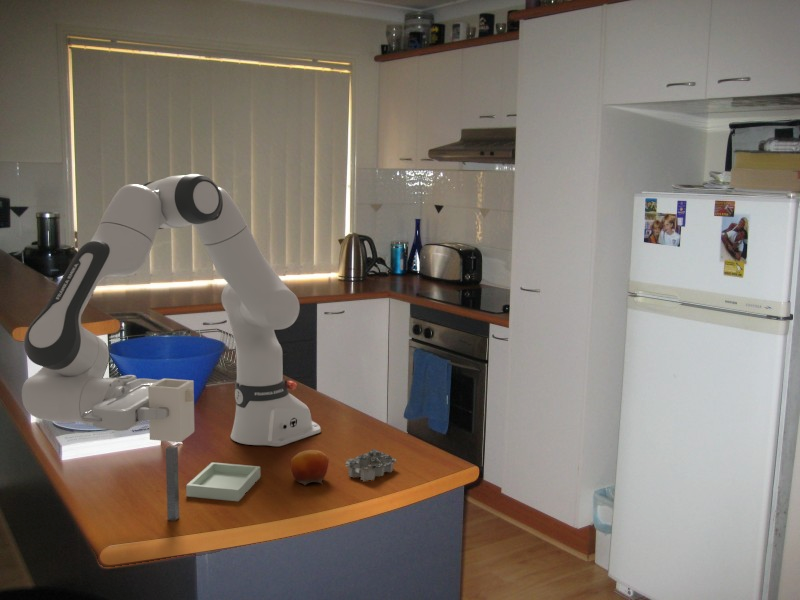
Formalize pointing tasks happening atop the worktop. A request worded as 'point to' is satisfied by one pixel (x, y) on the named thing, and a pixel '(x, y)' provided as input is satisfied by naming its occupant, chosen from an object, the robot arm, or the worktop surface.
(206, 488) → the tray
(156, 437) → the white square cup
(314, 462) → the fruit
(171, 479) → the post
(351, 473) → the egg carton
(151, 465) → the worktop surface
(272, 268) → the robot arm
